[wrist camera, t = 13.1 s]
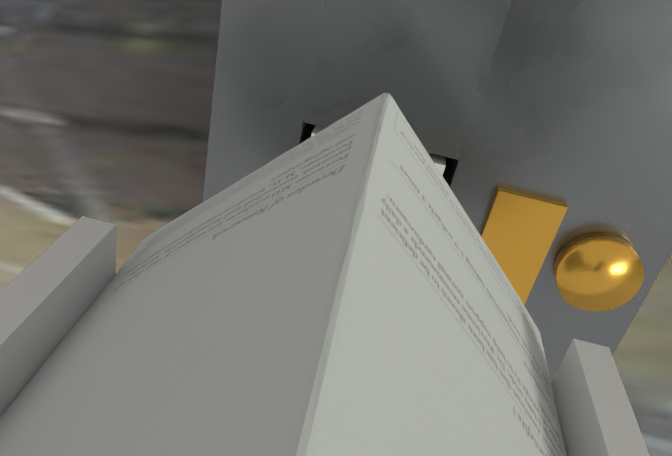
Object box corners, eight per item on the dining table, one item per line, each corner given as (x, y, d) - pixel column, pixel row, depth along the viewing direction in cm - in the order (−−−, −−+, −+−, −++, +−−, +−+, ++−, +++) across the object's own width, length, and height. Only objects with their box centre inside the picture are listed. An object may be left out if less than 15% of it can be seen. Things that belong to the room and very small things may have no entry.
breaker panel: (805, -285, 18) (1072, -411, 10) (550, 271, 28) (591, 411, 20) (338, -386, 18) (267, -579, 11) (253, 197, 28) (187, 308, 21)
